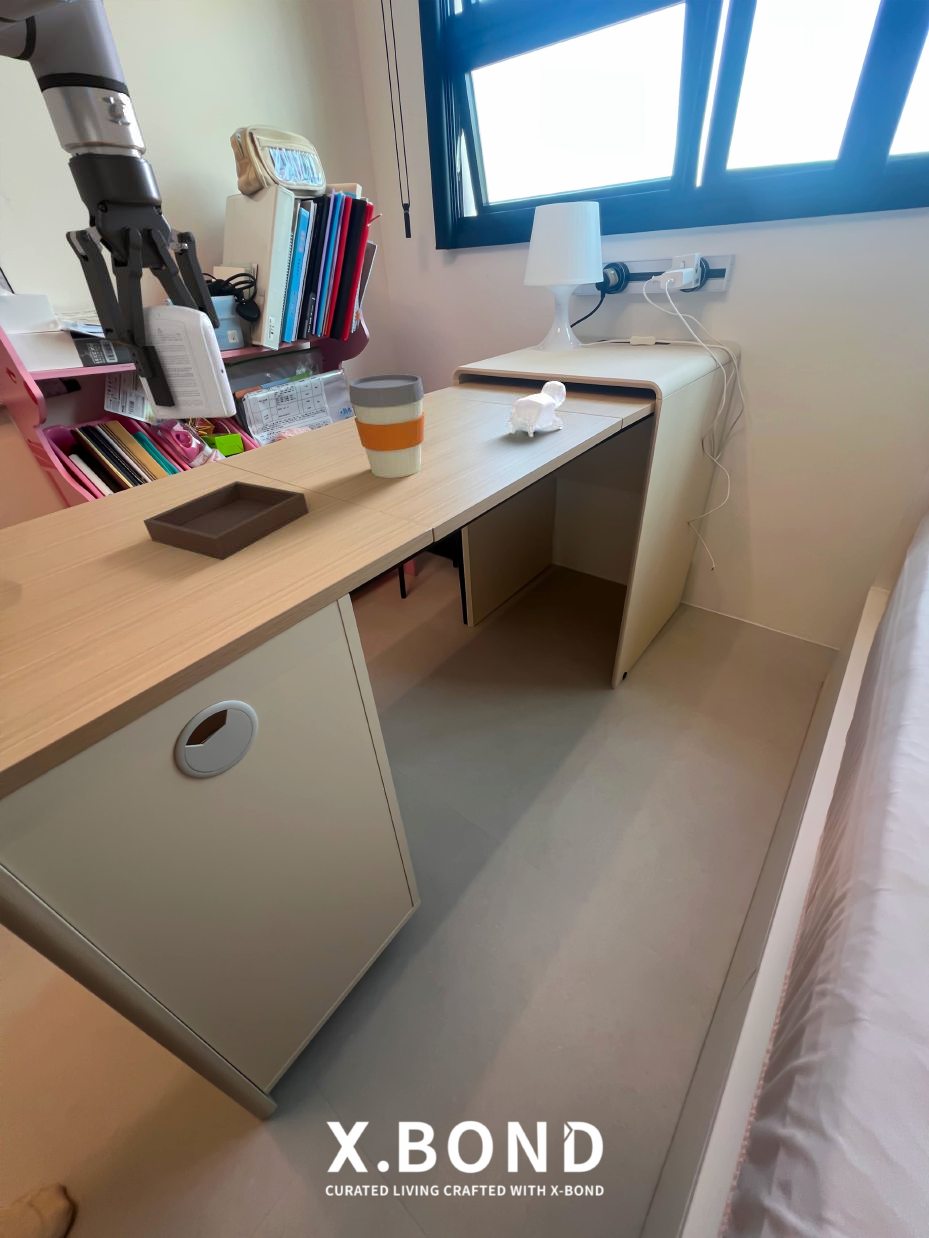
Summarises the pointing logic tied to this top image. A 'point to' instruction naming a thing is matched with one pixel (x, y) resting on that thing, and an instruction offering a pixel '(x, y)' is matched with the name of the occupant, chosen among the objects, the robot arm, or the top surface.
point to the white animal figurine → (538, 409)
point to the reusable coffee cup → (390, 422)
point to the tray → (226, 519)
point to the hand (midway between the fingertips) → (189, 398)
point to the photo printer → (187, 363)
